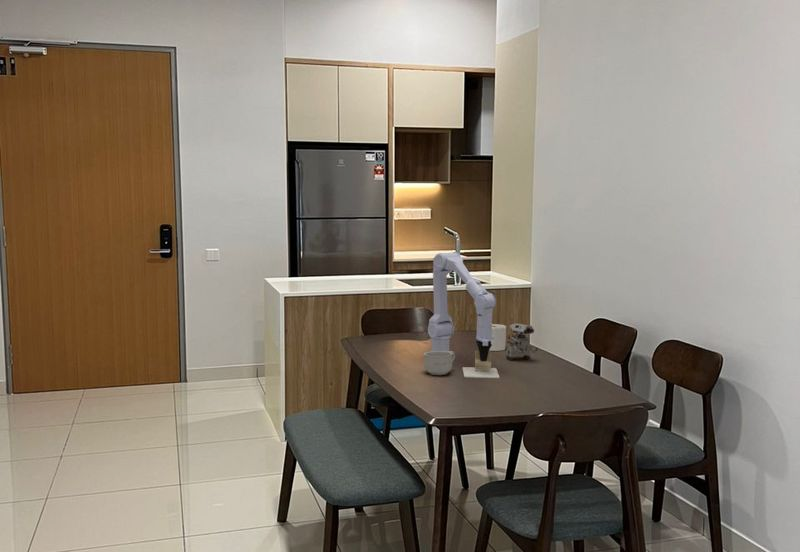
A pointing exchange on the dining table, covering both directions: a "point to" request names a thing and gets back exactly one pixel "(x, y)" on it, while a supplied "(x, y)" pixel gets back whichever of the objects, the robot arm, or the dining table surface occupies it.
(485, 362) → the wooden block
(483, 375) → the mat
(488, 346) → the robot arm
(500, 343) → the toilet tissue
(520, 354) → the figurine
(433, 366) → the teacup
